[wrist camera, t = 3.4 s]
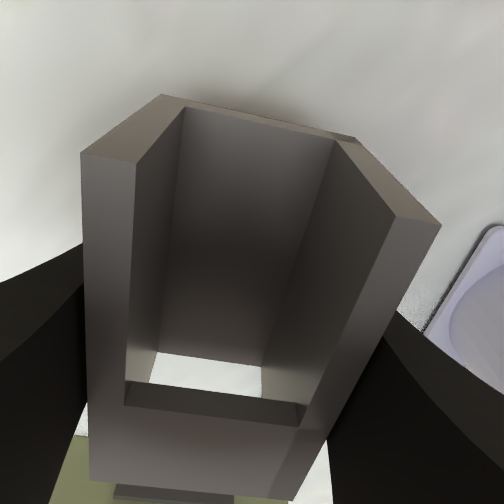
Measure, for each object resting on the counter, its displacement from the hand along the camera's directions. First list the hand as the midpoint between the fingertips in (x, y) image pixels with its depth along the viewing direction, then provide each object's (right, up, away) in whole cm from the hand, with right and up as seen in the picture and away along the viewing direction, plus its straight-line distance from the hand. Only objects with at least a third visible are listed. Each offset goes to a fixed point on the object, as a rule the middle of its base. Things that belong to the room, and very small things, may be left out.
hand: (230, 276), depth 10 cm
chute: (0, +1, +1) cm, 1 cm away
